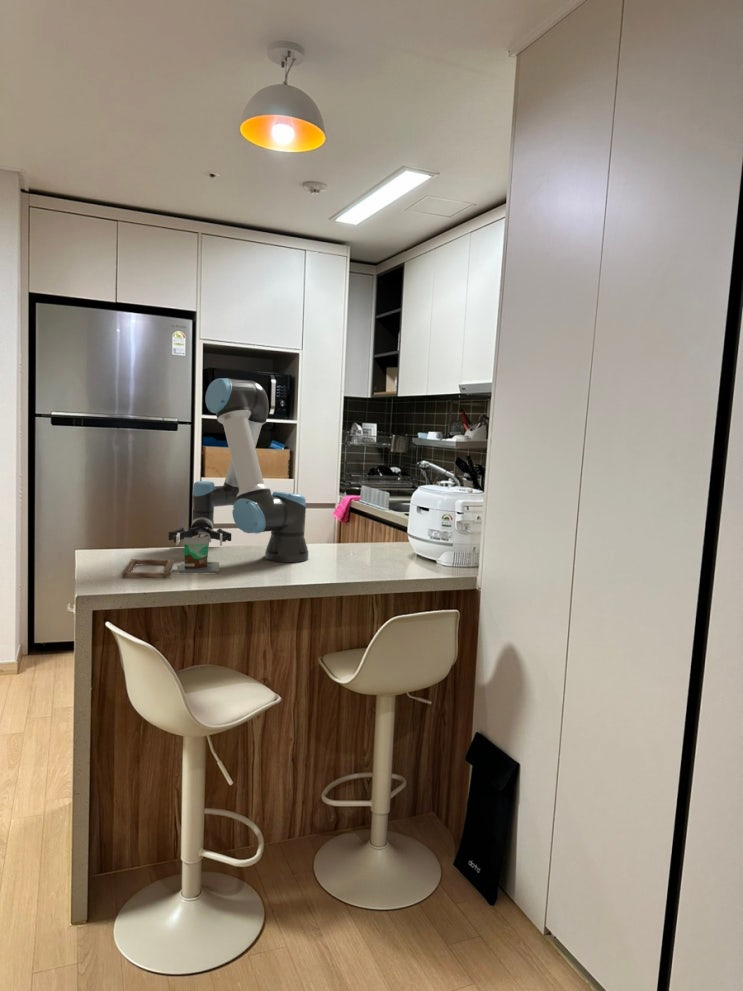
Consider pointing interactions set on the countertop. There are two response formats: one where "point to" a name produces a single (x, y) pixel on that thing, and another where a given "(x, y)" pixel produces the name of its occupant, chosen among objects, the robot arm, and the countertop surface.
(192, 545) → the food container
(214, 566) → the plate
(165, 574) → the walnut holder
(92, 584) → the countertop surface
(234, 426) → the robot arm
